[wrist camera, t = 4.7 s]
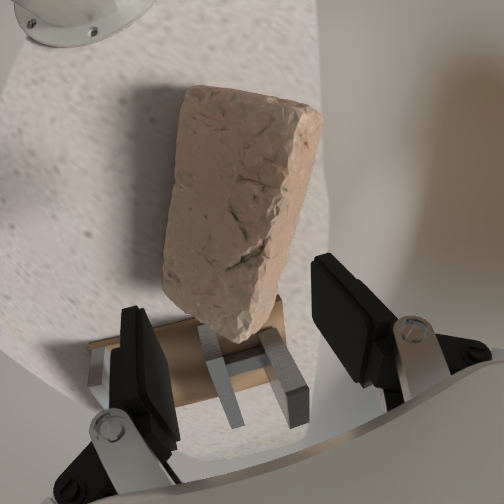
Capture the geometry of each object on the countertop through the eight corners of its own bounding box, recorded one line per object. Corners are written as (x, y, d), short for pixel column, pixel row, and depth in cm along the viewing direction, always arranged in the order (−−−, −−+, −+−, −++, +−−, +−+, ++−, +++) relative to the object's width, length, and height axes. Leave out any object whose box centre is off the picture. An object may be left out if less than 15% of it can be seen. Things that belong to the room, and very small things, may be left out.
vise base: (89, 343, 28) (82, 388, 23) (278, 294, 32) (302, 332, 26) (132, 409, 34) (135, 449, 29) (286, 369, 37) (304, 405, 32)
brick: (270, 326, 25) (237, 356, 21) (192, 279, 28) (154, 299, 25) (334, 113, 18) (304, 102, 14) (227, 88, 21) (181, 80, 17)
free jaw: (197, 326, 29) (214, 396, 22) (273, 304, 30) (309, 367, 23) (222, 397, 35) (240, 457, 28) (282, 379, 36) (309, 434, 29)
